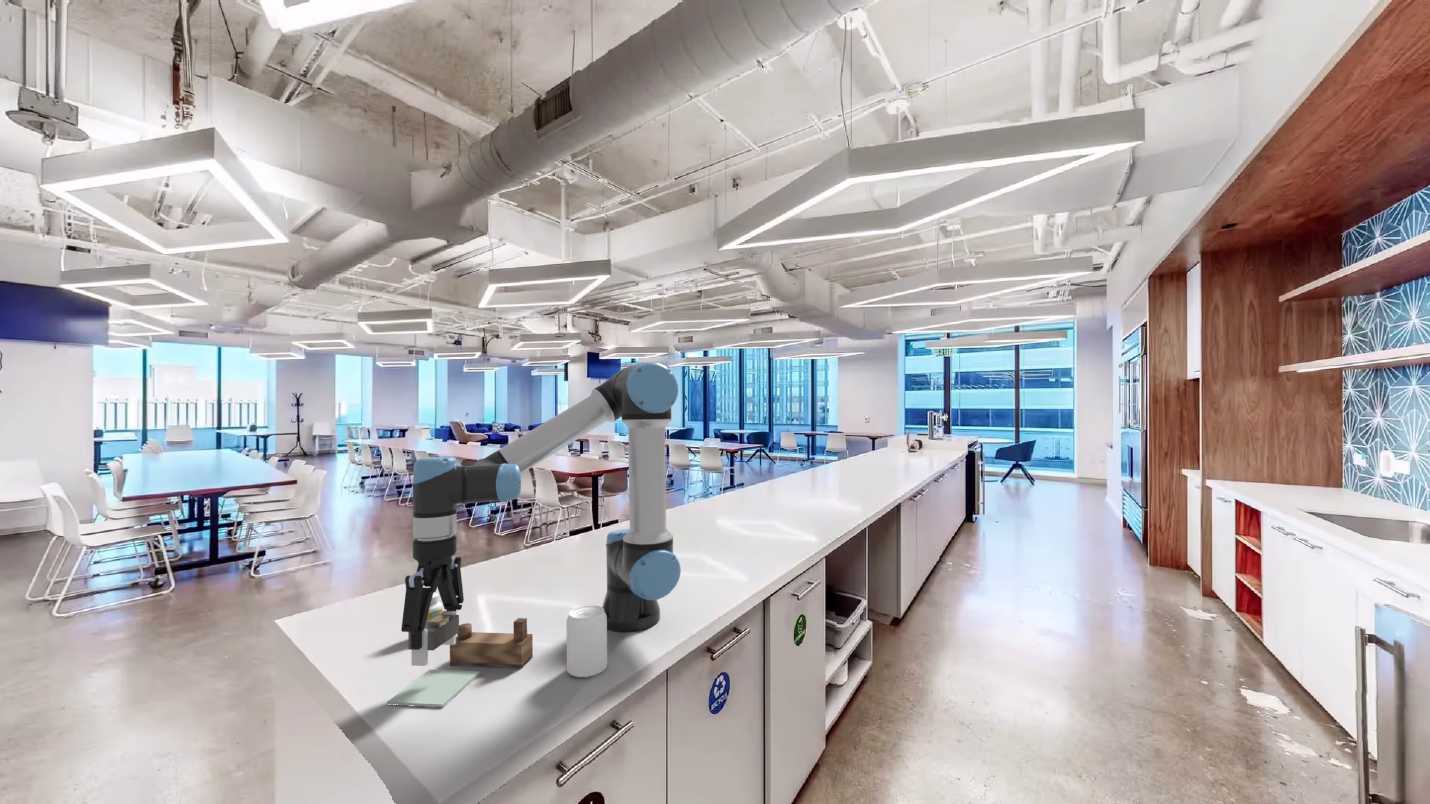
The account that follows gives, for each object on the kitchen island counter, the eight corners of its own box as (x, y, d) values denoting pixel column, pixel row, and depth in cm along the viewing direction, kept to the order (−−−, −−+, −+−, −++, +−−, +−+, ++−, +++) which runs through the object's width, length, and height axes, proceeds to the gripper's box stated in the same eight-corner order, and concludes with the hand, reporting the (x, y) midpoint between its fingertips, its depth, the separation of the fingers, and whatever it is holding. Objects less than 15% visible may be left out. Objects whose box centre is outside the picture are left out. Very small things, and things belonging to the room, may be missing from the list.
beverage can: (586, 684, 102) (586, 622, 102) (558, 673, 106) (557, 614, 106) (615, 666, 109) (614, 608, 109) (587, 657, 113) (587, 601, 113)
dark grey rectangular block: (458, 632, 104) (459, 611, 105) (433, 650, 96) (433, 627, 97) (435, 631, 105) (435, 610, 105) (408, 649, 97) (408, 626, 97)
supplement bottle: (431, 642, 122) (431, 600, 122) (411, 640, 123) (411, 599, 123) (447, 632, 127) (447, 592, 127) (428, 630, 128) (428, 591, 128)
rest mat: (479, 674, 106) (479, 671, 106) (443, 707, 94) (443, 704, 94) (429, 672, 107) (429, 669, 107) (386, 705, 95) (386, 701, 95)
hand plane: (532, 657, 113) (532, 615, 113) (521, 668, 108) (521, 625, 108) (463, 654, 115) (463, 613, 115) (449, 665, 110) (449, 623, 110)
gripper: (449, 524, 112) (449, 630, 111) (377, 550, 91) (376, 680, 91) (482, 525, 111) (482, 632, 111) (416, 551, 90) (416, 682, 90)
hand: (434, 653), depth 101 cm, fingers closed on dark grey rectangular block, 8 cm apart
